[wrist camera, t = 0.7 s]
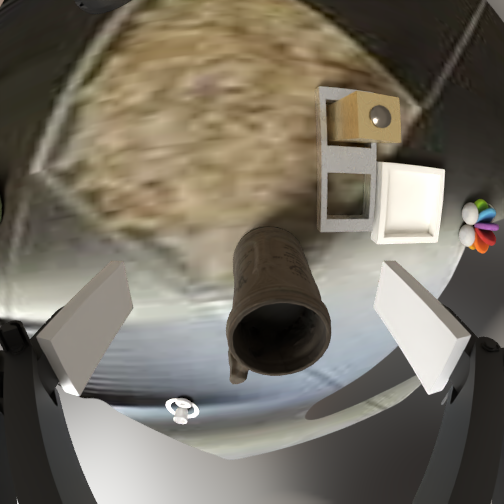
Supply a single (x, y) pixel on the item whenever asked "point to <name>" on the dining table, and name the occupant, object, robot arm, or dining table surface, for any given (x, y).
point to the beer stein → (274, 308)
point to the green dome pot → (0, 208)
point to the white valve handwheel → (182, 409)
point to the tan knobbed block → (364, 119)
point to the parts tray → (407, 203)
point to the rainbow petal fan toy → (478, 226)
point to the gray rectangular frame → (342, 169)
